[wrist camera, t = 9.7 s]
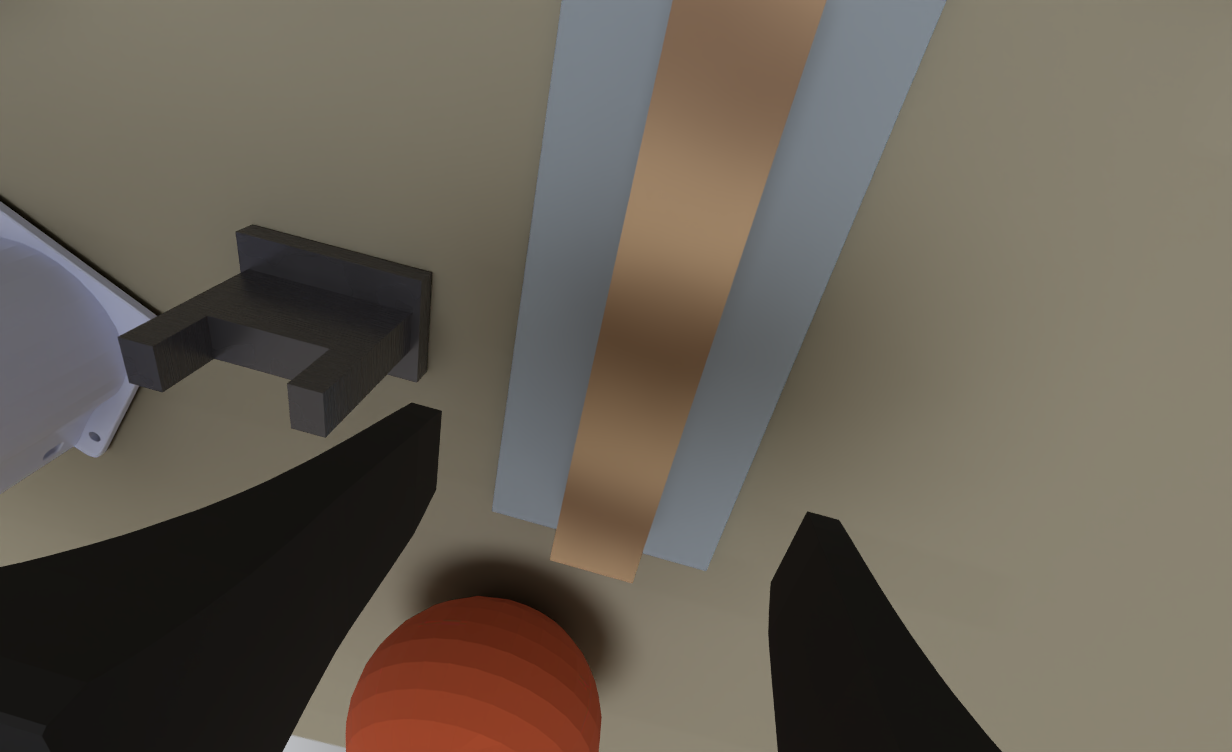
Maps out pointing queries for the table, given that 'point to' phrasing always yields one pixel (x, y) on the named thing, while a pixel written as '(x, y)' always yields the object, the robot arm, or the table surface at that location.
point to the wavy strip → (677, 260)
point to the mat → (766, 275)
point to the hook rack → (295, 326)
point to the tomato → (476, 685)
